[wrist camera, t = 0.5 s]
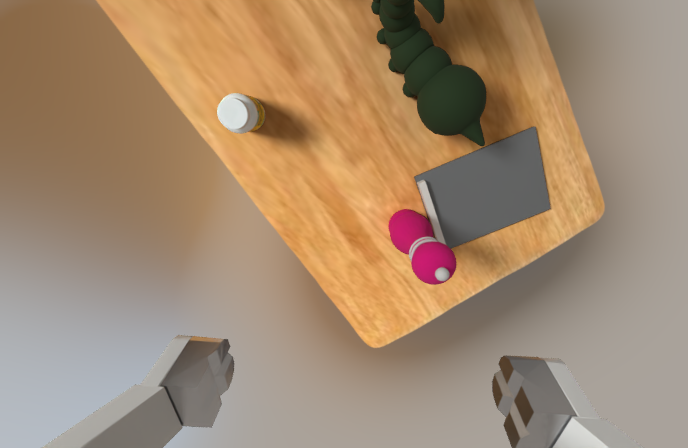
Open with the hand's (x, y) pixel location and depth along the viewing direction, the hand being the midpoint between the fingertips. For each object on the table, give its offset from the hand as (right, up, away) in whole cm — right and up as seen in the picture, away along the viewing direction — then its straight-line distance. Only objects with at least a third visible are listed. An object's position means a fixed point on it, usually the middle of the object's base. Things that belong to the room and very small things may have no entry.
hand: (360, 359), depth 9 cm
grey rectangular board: (+25, +10, +47) cm, 54 cm away
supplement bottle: (-16, +22, +40) cm, 48 cm away
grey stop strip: (+16, +6, +48) cm, 50 cm away
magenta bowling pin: (+11, +4, +48) cm, 50 cm away
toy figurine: (+12, +28, +40) cm, 50 cm away
